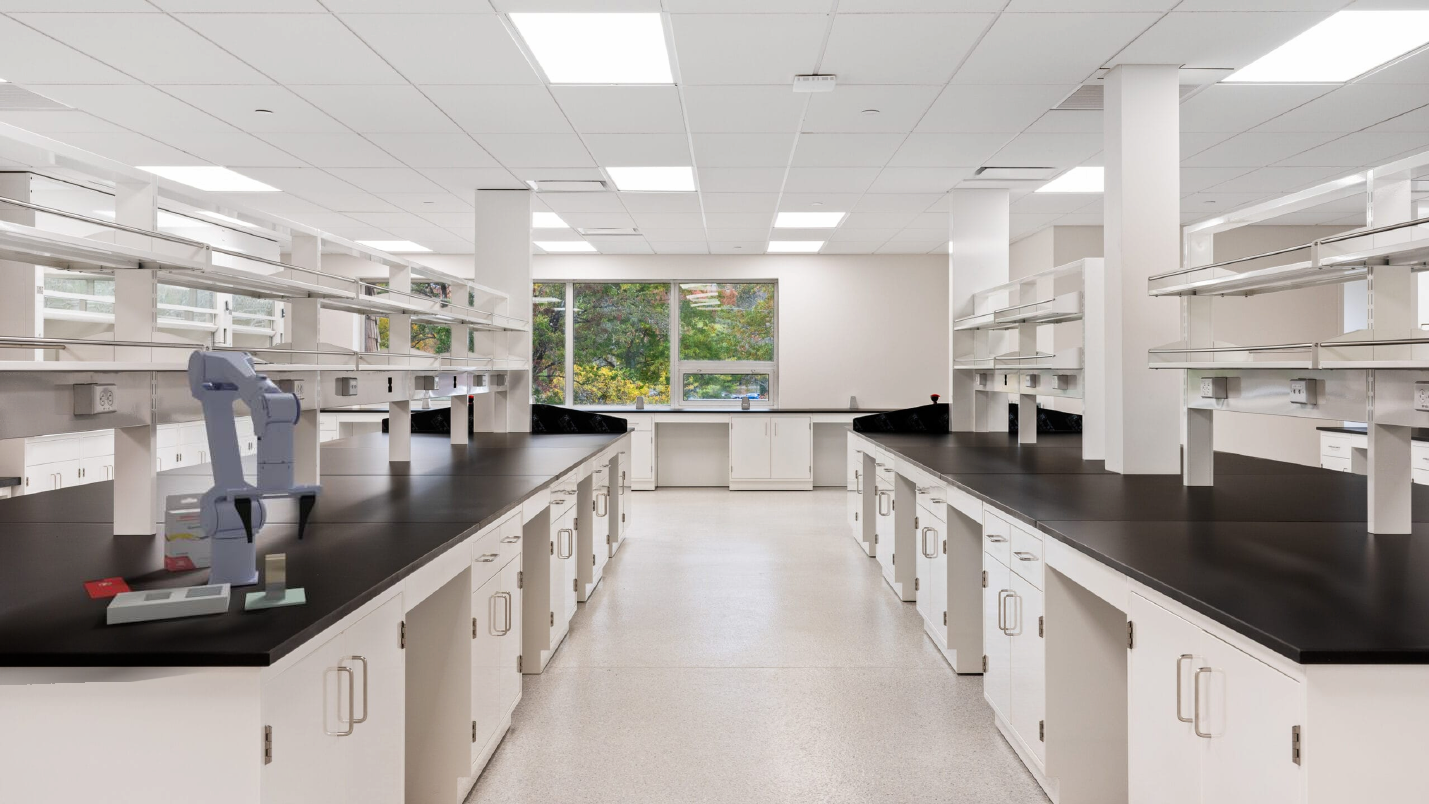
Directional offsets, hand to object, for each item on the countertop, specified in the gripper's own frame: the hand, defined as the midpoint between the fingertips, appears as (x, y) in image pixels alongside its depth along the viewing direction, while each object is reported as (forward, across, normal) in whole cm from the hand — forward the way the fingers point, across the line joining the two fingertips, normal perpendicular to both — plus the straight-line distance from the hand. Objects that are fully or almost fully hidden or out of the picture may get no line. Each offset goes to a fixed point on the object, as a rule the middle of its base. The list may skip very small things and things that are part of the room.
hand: (275, 540), depth 141 cm
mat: (+10, 0, 0) cm, 10 cm away
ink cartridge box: (+11, -15, +35) cm, 40 cm away
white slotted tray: (+10, -15, 0) cm, 18 cm away
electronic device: (+11, -27, +22) cm, 37 cm away
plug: (+10, 0, 0) cm, 10 cm away
